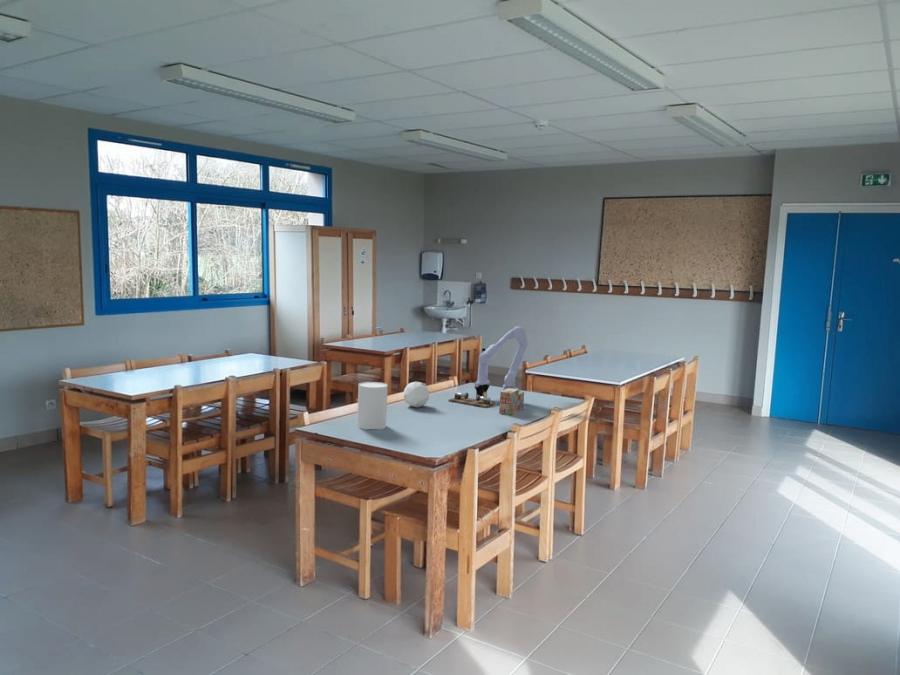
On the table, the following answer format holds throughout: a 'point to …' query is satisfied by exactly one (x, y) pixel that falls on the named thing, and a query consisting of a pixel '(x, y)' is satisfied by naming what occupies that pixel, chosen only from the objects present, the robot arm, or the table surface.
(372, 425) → the canister
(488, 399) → the shafts
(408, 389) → the geodesic sphere
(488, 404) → the shaft bench
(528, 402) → the table surface
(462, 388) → the table surface
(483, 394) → the wooden block
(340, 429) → the table surface
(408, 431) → the table surface
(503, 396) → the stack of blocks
